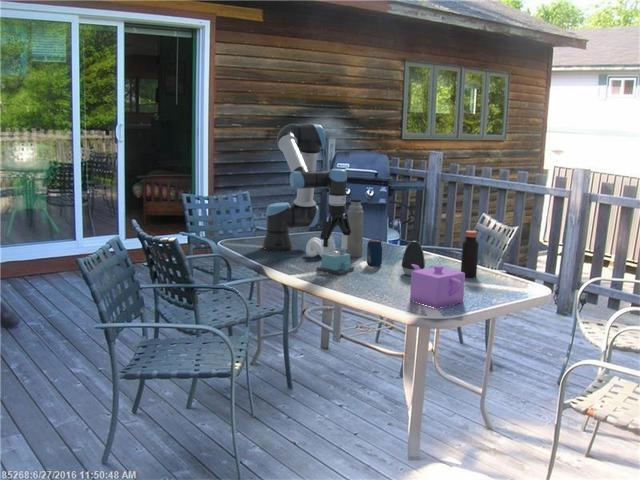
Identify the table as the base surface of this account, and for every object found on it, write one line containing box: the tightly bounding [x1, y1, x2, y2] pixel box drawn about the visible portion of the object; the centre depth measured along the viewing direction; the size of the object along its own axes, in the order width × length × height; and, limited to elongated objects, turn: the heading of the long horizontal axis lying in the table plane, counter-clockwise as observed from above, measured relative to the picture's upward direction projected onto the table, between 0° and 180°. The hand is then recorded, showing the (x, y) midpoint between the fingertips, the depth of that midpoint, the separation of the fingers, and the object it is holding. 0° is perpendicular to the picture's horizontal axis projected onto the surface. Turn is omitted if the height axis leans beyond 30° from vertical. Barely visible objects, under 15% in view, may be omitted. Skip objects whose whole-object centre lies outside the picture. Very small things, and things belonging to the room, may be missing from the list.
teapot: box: [409, 264, 466, 309], centre depth 244 cm, size 15×25×14 cm, turn 39°
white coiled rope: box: [305, 236, 324, 258], centre depth 318 cm, size 11×12×9 cm
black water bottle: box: [460, 230, 479, 279], centre depth 284 cm, size 7×7×20 cm
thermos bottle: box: [345, 198, 364, 258], centre depth 321 cm, size 8×8×28 cm
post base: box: [316, 250, 355, 276], centre depth 290 cm, size 12×12×8 cm
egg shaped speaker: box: [401, 240, 426, 277], centre depth 285 cm, size 10×10×15 cm
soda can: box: [366, 238, 383, 268], centre depth 301 cm, size 7×7×12 cm
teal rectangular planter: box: [320, 251, 351, 270], centre depth 290 cm, size 14×9×6 cm, turn 45°
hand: (335, 251), depth 290 cm, fingers open, 13 cm apart
